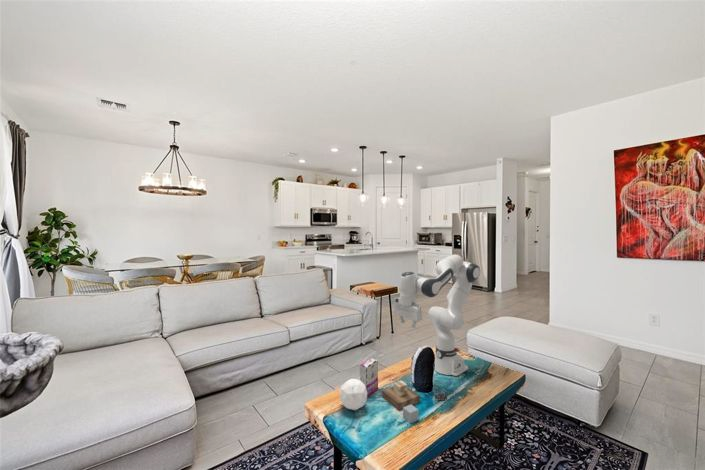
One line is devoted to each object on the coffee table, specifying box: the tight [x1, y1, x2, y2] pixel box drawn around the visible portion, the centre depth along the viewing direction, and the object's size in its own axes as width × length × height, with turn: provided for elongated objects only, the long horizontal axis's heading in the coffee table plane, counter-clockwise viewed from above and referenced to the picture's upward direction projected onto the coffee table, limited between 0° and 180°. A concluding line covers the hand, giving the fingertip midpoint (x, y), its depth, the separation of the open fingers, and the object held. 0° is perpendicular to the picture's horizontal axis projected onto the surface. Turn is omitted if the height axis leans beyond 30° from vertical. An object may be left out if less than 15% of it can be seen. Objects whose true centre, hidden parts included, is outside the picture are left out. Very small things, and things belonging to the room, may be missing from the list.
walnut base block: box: [381, 386, 421, 411], centre depth 157 cm, size 14×14×4 cm
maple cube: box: [393, 380, 408, 397], centre depth 157 cm, size 5×5×5 cm
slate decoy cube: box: [402, 405, 419, 424], centre depth 141 cm, size 5×5×5 cm
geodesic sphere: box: [339, 378, 368, 411], centre depth 149 cm, size 15×14×14 cm
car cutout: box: [434, 392, 463, 403], centre depth 156 cm, size 15×7×4 cm, turn 91°
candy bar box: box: [359, 357, 379, 398], centre depth 165 cm, size 11×5×16 cm, turn 143°
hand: (407, 325), depth 170 cm, fingers open, 8 cm apart
